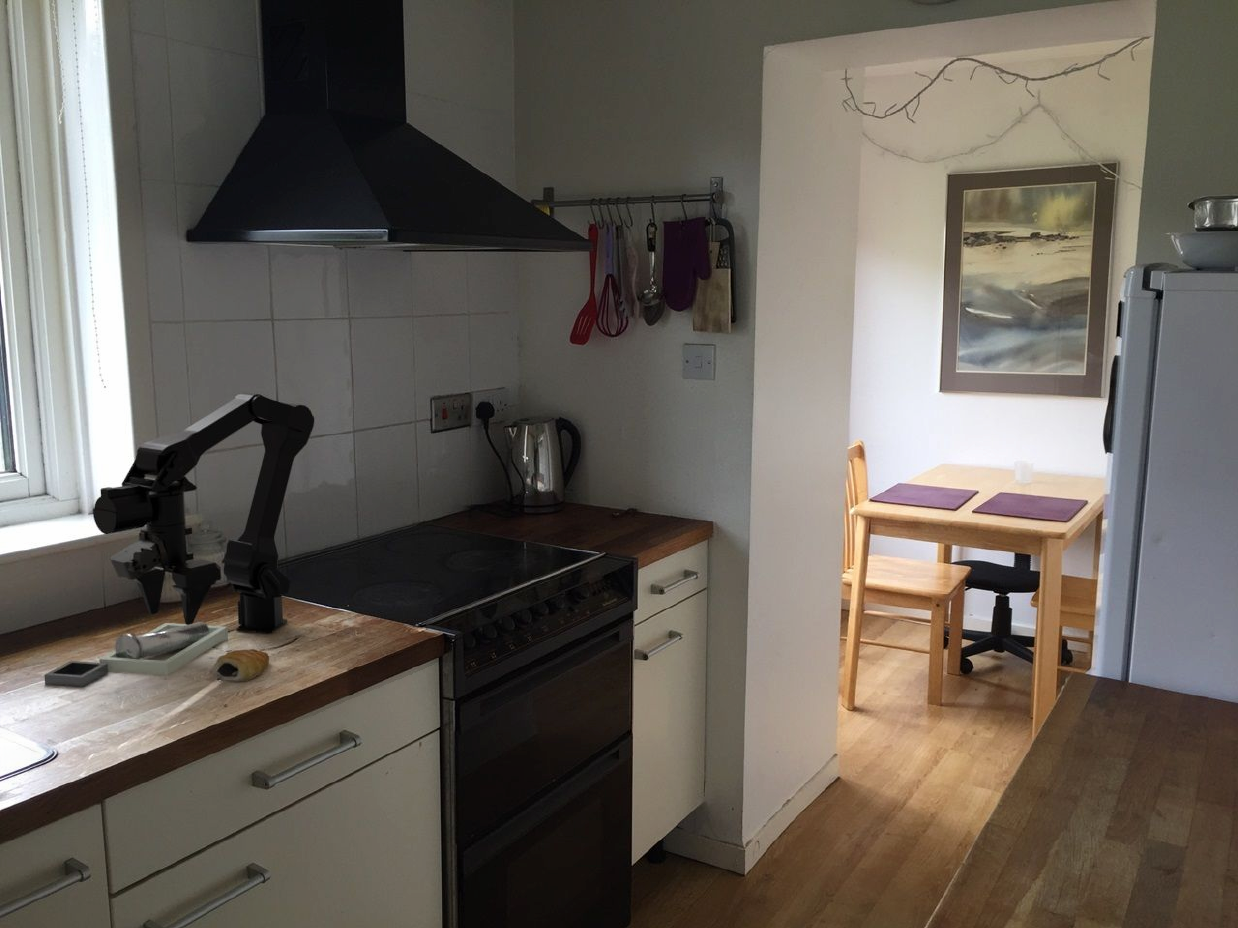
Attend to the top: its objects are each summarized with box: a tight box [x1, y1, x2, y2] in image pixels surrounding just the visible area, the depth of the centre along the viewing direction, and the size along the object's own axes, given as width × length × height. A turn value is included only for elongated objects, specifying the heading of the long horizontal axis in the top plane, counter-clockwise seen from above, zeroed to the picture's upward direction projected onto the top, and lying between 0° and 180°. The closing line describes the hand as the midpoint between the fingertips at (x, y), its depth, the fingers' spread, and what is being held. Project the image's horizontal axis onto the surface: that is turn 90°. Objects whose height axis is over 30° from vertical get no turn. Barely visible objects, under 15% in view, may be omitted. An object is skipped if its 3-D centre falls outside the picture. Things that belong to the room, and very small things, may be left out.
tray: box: [98, 622, 229, 676], centre depth 173 cm, size 11×18×2 cm, turn 171°
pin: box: [114, 621, 210, 659], centre depth 172 cm, size 5×5×14 cm
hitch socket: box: [44, 660, 109, 689], centre depth 161 cm, size 6×6×2 cm
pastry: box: [209, 648, 270, 683], centre depth 167 cm, size 9×7×4 cm
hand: (171, 618), depth 173 cm, fingers open, 9 cm apart
